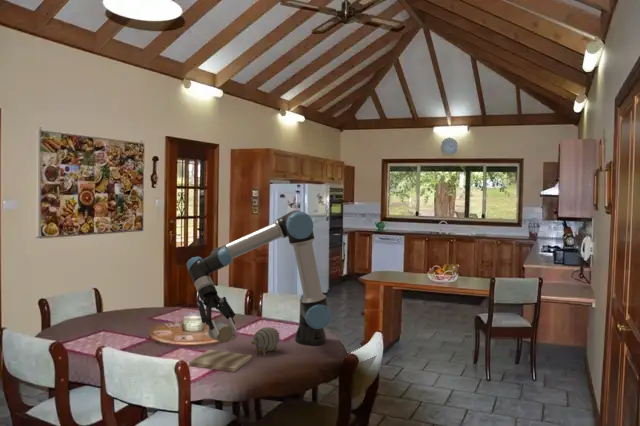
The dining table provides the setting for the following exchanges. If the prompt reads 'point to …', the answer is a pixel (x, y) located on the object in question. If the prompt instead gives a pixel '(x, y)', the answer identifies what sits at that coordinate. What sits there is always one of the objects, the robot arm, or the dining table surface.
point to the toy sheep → (266, 339)
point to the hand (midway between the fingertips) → (226, 333)
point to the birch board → (220, 360)
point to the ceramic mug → (222, 332)
